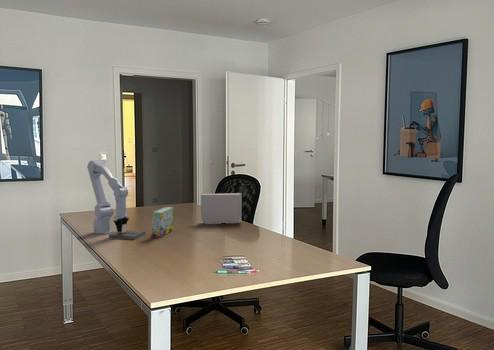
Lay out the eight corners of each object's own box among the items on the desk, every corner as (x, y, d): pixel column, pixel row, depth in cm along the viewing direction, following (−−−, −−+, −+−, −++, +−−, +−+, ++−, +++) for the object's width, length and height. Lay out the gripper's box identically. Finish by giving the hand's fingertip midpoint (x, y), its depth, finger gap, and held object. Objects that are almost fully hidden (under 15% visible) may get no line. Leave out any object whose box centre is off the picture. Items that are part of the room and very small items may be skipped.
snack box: (160, 238, 273) (160, 212, 271) (151, 237, 274) (151, 212, 272) (173, 230, 293) (173, 206, 292) (165, 230, 294) (164, 206, 293)
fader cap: (116, 232, 275) (116, 224, 275) (120, 231, 279) (119, 223, 278) (122, 232, 274) (122, 225, 274) (126, 231, 278) (126, 223, 278)
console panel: (109, 238, 271) (109, 234, 271) (121, 233, 284) (121, 229, 284) (134, 239, 267) (134, 236, 267) (145, 234, 281) (145, 231, 280)
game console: (241, 223, 320) (242, 194, 318) (202, 224, 313) (202, 195, 311) (240, 221, 325) (240, 193, 324) (200, 222, 319) (201, 193, 317)
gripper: (121, 210, 267) (121, 233, 268) (133, 206, 281) (133, 228, 282) (109, 209, 269) (110, 233, 270) (122, 205, 283) (122, 228, 284)
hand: (121, 230), depth 276 cm, fingers closed on fader cap, 4 cm apart
